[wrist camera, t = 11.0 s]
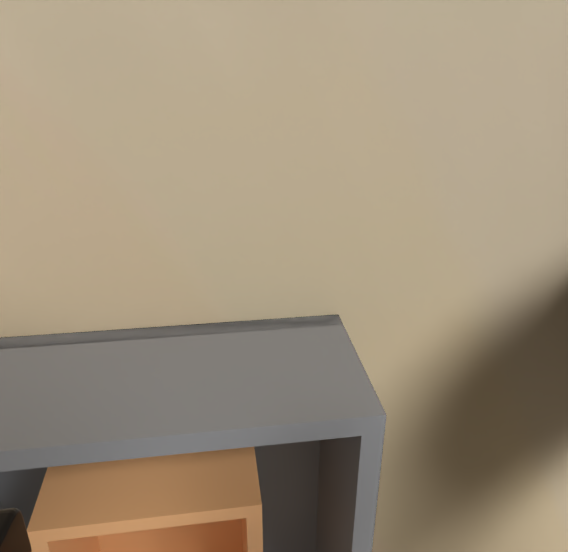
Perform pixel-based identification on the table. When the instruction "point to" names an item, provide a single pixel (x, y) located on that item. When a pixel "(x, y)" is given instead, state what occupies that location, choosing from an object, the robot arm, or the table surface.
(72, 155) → the table surface
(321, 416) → the grey crate
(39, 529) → the orange crate
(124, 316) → the table surface
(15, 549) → the robot arm
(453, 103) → the table surface
